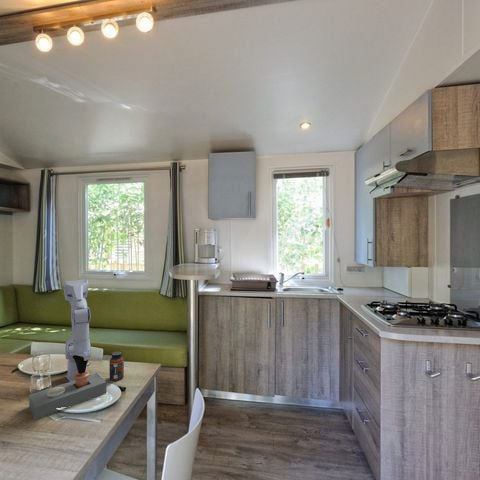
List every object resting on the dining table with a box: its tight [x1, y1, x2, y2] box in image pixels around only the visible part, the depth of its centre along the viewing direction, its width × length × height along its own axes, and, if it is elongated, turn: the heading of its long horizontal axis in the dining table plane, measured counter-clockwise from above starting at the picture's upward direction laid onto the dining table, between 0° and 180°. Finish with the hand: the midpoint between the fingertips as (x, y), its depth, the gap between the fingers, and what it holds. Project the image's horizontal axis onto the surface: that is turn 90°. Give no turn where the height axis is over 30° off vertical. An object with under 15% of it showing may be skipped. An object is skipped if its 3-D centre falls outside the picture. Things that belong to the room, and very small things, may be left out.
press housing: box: [28, 372, 107, 421], centre depth 113 cm, size 24×11×4 cm, turn 135°
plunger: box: [46, 387, 65, 398], centre depth 110 cm, size 6×6×4 cm
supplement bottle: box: [109, 351, 125, 382], centre depth 130 cm, size 6×6×11 cm
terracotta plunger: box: [73, 370, 91, 388], centre depth 116 cm, size 6×6×4 cm
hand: (81, 372), depth 116 cm, fingers closed
